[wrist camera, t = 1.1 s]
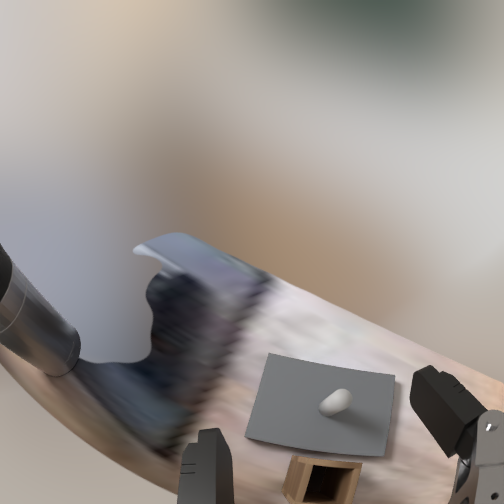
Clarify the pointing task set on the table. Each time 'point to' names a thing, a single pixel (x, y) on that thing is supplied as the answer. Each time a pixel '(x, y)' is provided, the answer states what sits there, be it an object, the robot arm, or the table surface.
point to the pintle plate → (301, 404)
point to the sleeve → (333, 485)
